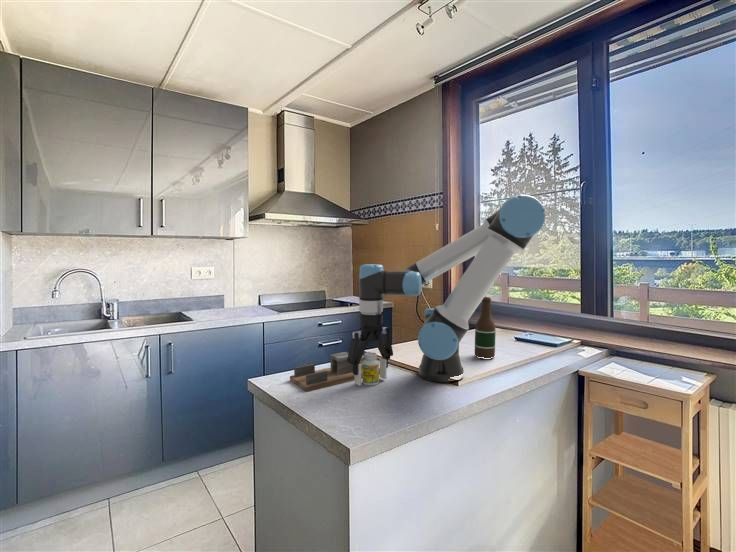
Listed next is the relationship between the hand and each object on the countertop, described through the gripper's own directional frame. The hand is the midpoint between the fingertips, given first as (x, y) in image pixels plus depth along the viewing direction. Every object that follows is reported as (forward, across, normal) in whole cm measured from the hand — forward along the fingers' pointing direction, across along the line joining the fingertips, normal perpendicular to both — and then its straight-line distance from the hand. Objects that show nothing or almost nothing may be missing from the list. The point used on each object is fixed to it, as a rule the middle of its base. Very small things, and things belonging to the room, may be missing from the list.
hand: (370, 380), depth 126 cm
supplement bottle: (+1, 0, 0) cm, 1 cm away
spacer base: (+1, +6, -11) cm, 13 cm away
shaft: (-2, -1, -11) cm, 11 cm away
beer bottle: (+1, -54, +3) cm, 54 cm away
